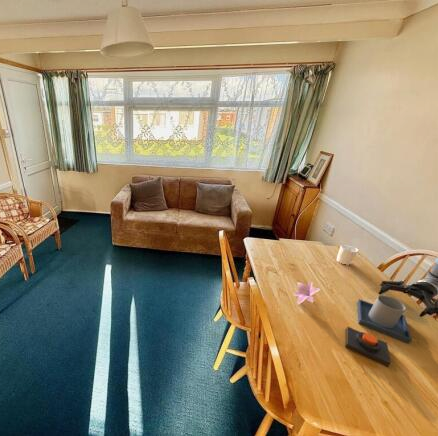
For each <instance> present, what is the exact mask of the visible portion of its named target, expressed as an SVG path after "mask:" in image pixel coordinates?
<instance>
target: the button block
mask: <svg viewBox="0 0 438 436" xmlns="http://www.w3.org/2000/svg"><path fill="white" fill-rule="evenodd" d="M365 333H366V332H362V331H360V330H356V329H355V328H352V327H349V326H346V328H345V330H344V343H345V345H344V348H345V349H347V350H349V351H352V352H354V353H356V354H358V355H360V356H363V357H365V358H367V359H369V360H371V361H374V362H376V363H378V364H380V365H383V366H384V367H387V368H389V366H390V365H391V358H390V353H389V347H388V342H386V341H383V340H381V339H378V338H376V339H377V340H378V342H377V343H376V345H375V346H372V345H369V344H367V343H366V342H364V341H363V340H362V336H363V334H365Z"/></svg>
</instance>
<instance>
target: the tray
mask: <svg viewBox="0 0 438 436" xmlns="http://www.w3.org/2000/svg"><path fill="white" fill-rule="evenodd" d="M373 305H374V303H372V302H369V301H366V300H363V299H360V298H358V300H357V302H356V309H357V310H356V311H357V324H358V325H360V326H363V327H365V328H367V329H370V330H373V331H375V332H378V333H381V334H383V335H385V336H388V337H390V338H393V339H394V340H398V341H400V342H403V343H406V344H408V345H409V344H410V343H411V342H412V336H411V333H410V332H411V331H410V330H409V326H408V322H407V319H406V316H405V314H404V313H403V314H402V315H401V317H400V319H399V320H398V322H397V323H396V325H395V326H394V327H393V328H385V327H383V326H380V325H378V324H376V323H375V322H373V321H372V320H371V319H370V318H369V316H368V314H369V312H370V310H371V308H372V306H373Z"/></svg>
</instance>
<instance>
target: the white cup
mask: <svg viewBox="0 0 438 436" xmlns="http://www.w3.org/2000/svg"><path fill="white" fill-rule="evenodd" d="M358 252H359V249H358V248H357V247H355V246H353V245H349V244H341V245H340V247H339V250H338V254H337V256H336V262H337V261H338V262H337V263H339V262H340V263H339V264H341V263H342V264H341V265H343V264H346V265H345V266H350V265H351V264H352V263H353V261H354V259H355V257H356V256H357V254H358ZM349 264H350V265H349Z"/></svg>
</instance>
